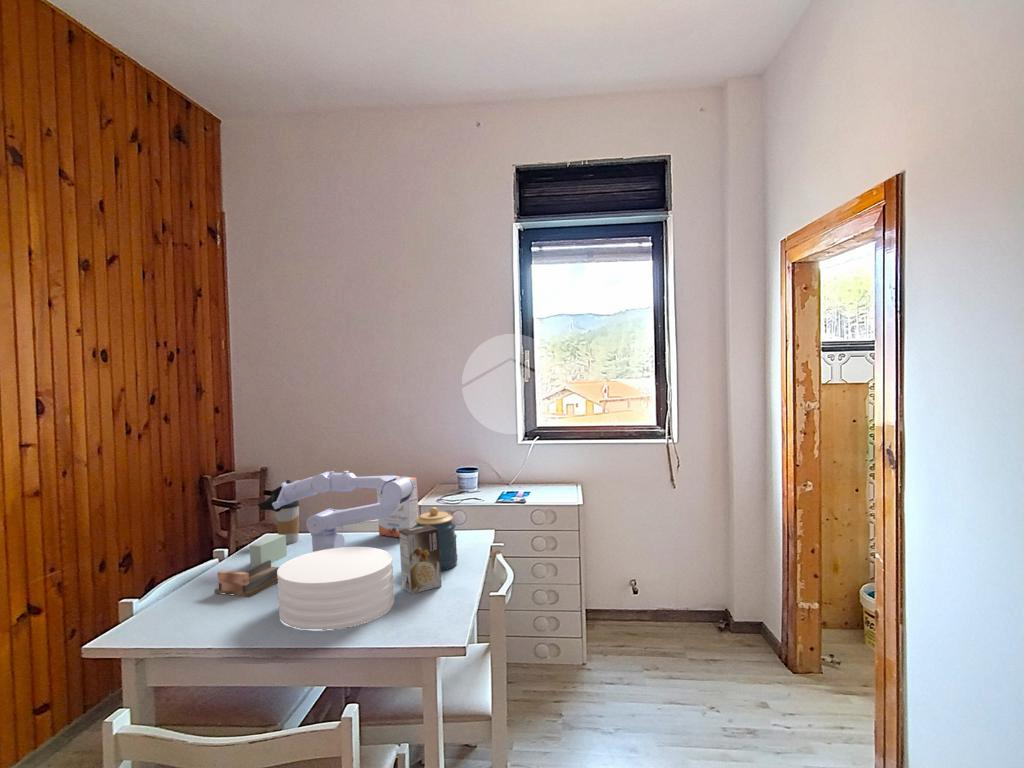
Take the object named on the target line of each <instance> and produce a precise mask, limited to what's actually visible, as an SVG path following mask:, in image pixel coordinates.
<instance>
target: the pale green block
mask: <svg viewBox="0 0 1024 768" xmlns="http://www.w3.org/2000/svg"><path fill="white" fill-rule="evenodd" d="M287 553H288V551H287V544H286V535H278V534H273V535H271V536H268V537H266V538H264V539H261V540H259V541H257V542H254V543H252V544H250V545H249V557H250V558H249V559H250V561H249V562H250V568H252V567H254V566H256V565H259V564H261V563H263V562H265V561H267V560H271V564H273V563H275V562H277V561H279V560H281V559H284V558H286V557H287V556H288V555H287Z"/></svg>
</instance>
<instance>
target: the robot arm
mask: <svg viewBox="0 0 1024 768" xmlns="http://www.w3.org/2000/svg"><path fill="white" fill-rule="evenodd" d="M397 477H400V478H398V479H396V478H397ZM410 478H411V477H410ZM410 478H408V476H399V475H372V476H371V475H370V476H369V475H368V476H356V474H354V473H353V472H350V471H349V470H344V471H342V472H335V471H332V470H331V471H324V472H322V473H319V474H316V475H313V476H311V477H307V478H304V479H301V480H299V479H298V480H297V479H296V480H293V482H291V480H290V479H287V480H286V481H283V482H282V483H281V484H280V486H278V487H276V488H275V489H274V490H272V491H270V496H269V497H268V498H267V499H266V500H263V501H261V502H259V503H258V504H257V506H258V508H259V509H260V511H273V512H275V513H276V512H279V511H280V510H281V506H283V505H286V504H289V503H292V502H294V501H297V500H298V501H299V500H302V499H306V498H310V497H313V496H315V495H317V494H319V493H320V494H325V493H327V492H328V491H330V492H354V490H355V489H356V488H358V489H359V488H361V489H376V491H377V490H378V492H379V494H382V500H381V503H378V502H376V503H371V504H367V505H359V506H355V507H351V508H345V509H333V508H330V507H329V508H326V509H324V510H323V511H320V512H318V513H316V514H311V515H310V516H309V517H308V518H307V519H306V525H305V526H306V529H307V531H308V532H309V533H310V536H311V543H312V545H311V546H312V552H316V551H320V550H326V549H332V548H341V547H346V543H345V542H346V541H345V536H344V535H343V534H342V533H339V532H337V531H336V530H337V528H338V527H343V526H348V525H353V524H359V523H363V522H371V521H374V520H378V519H381V518H387V517H390V516H392V515H393V514H395V513H396V512H397V511H398V510H399V509H400V508H401V506H402V505H403V504H404V503H405V502H406V501H407V500H409V499H410V498H411V495H412V493H413V490H414V484H413V481H412V480H411V479H410Z"/></svg>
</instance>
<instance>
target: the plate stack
mask: <svg viewBox="0 0 1024 768" xmlns="http://www.w3.org/2000/svg"><path fill="white" fill-rule="evenodd" d="M278 567H279V568H278V570H277V578H278V583H277V589H278V592H277V595H278V596H277V598H278V610H279V613H278V614H279V616H280V618H279V620H280V619H281V620H282V621H283V622H284V623H286V624H288V625H290V626H292V627H296V628H300V629H322V630H327V629H339V628H345V629H347V628H346V627H350V626H354V625H358V624H361V623H364V622H367V621H370V620H372V621H374V620H376V619H375V618H377V617H379V616H380V617H382V616H383V615H382V614H384V613H385V612H387V611H388V610H389V609H390V608H391V607H392V606H394V605H393V604H395V594H394V593H395V588H394V587H395V586H394V575H393V574H394V566H393V556H392V554H391V553H390V552H388V551H387V550H384V549H380V548H375V547H369V546H345V547H341V548H332V549H326V550H320V551H316V552H313V551H312V552H308V553H305V554H301V555H298V556H296V557H294V558H291V559H289V560H287V561H286V562H283V564H281V565H280V566H278ZM392 608H393V607H392ZM392 608H391V609H392ZM391 609H390V610H391ZM390 610H389V611H390ZM389 611H388V612H389ZM388 612H387V613H388ZM385 614H386V613H385ZM385 614H384V615H385ZM381 615H382V616H381ZM380 617H379V618H380ZM373 619H374V620H373ZM377 619H378V618H377ZM370 622H371V621H370ZM367 623H368V622H367ZM364 624H365V623H364ZM361 625H362V624H361ZM358 626H359V625H358ZM354 627H355V626H354ZM350 628H351V627H350ZM339 630H340V629H339Z"/></svg>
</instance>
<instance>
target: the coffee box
mask: <svg viewBox="0 0 1024 768" xmlns="http://www.w3.org/2000/svg"><path fill="white" fill-rule="evenodd" d="M398 540H399V550H400V551H399V553H400V571H401V587H402V589H403V588H404V589H403V590H404V591H406V590H407V591H406V592H408V593H409V594H410V595H414V594H413V593H415V594H417V592H418V593H421V591H422V592H425V590H426V591H428V590H429V591H430V590H433V589H436V588H441V587H442V571H441V568H440V552H439V536H438V528H435V527H433V526H430V525H424V526H419V527H414V528H409V529H404V530H399V539H398Z"/></svg>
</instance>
